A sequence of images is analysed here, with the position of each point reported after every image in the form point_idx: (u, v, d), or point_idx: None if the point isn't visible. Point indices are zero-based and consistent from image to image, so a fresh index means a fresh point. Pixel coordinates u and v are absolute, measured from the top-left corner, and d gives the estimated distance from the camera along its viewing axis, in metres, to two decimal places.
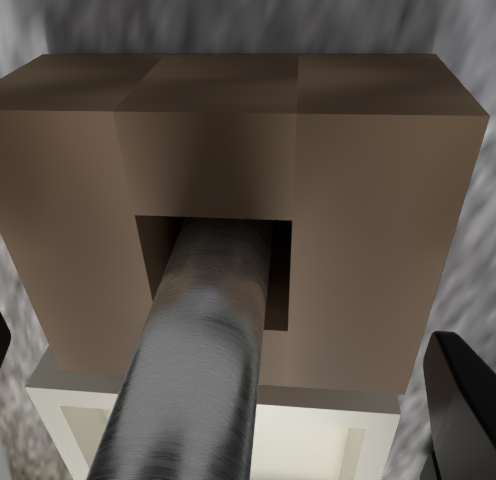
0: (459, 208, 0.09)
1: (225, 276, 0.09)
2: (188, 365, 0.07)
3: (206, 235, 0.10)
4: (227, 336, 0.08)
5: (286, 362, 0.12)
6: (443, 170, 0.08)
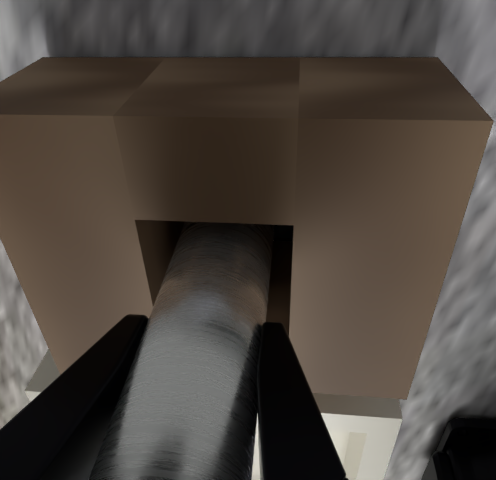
0: (462, 213, 0.09)
1: (225, 281, 0.09)
2: (189, 372, 0.07)
3: (206, 240, 0.10)
4: (227, 343, 0.08)
5: None
6: (446, 175, 0.08)
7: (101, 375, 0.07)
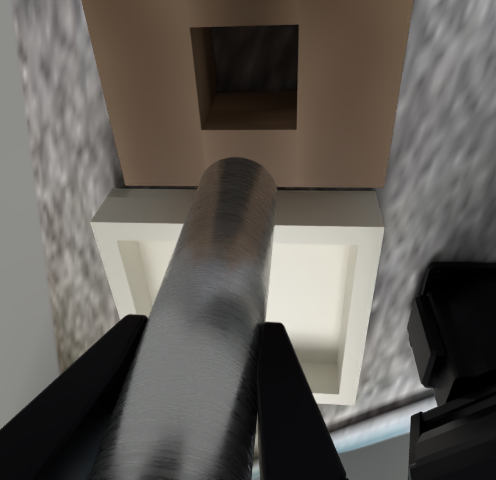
0: (411, 5, 0.13)
1: (225, 280, 0.09)
2: (189, 371, 0.07)
3: (206, 239, 0.10)
4: (227, 342, 0.08)
5: (295, 161, 0.17)
6: None
7: (101, 375, 0.07)
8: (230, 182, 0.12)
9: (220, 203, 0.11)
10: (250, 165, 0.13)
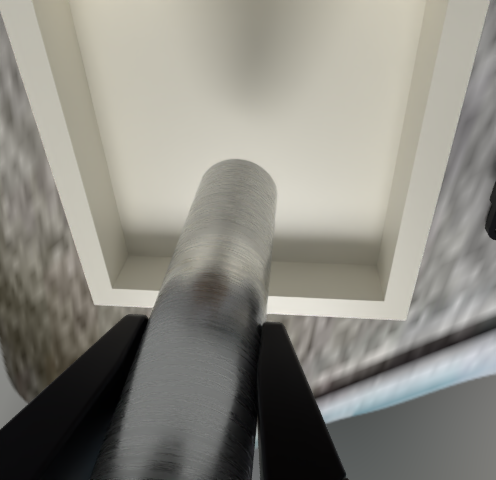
0: None
1: (226, 283, 0.09)
2: (188, 373, 0.07)
3: (206, 241, 0.10)
4: (228, 344, 0.08)
5: None
6: None
7: (101, 375, 0.07)
8: (230, 184, 0.12)
9: (219, 205, 0.11)
10: (251, 167, 0.13)
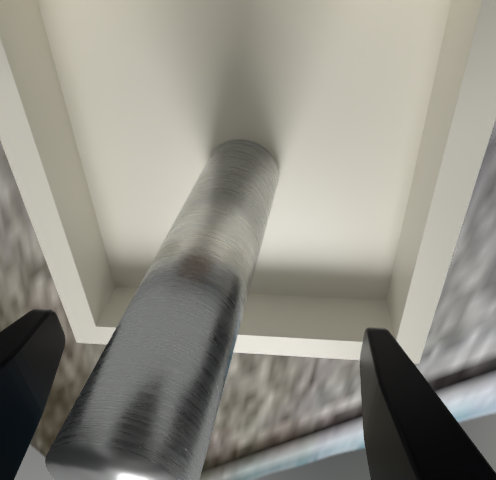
0: None
1: (214, 244, 0.10)
2: (169, 314, 0.08)
3: (202, 208, 0.11)
4: (208, 294, 0.09)
5: None
6: None
7: None
8: (232, 161, 0.13)
9: (219, 179, 0.12)
10: (254, 147, 0.14)
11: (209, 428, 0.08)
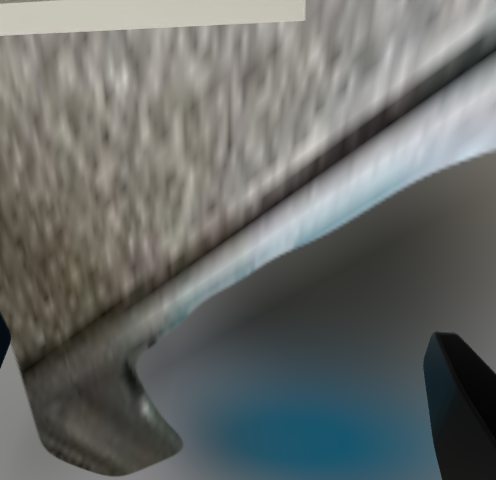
0: None
1: None
2: None
3: None
4: None
5: None
6: None
7: None
8: None
9: None
10: None
11: None
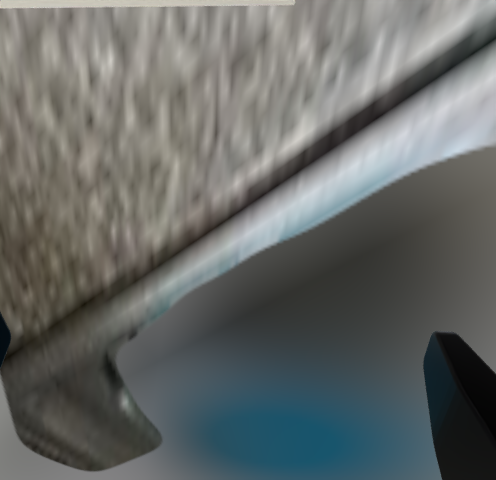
0: None
1: None
2: None
3: None
4: None
5: None
6: None
7: None
8: None
9: None
10: None
11: None
